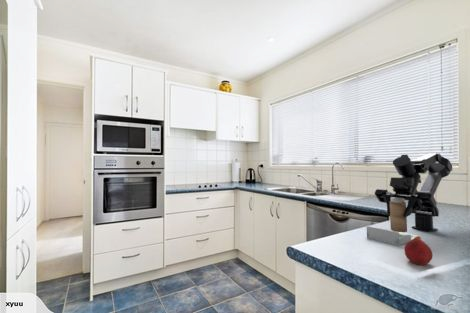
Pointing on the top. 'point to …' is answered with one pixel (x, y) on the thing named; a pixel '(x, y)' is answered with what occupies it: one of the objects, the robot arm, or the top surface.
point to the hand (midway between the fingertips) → (396, 215)
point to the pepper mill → (398, 214)
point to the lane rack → (388, 235)
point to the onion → (418, 251)
